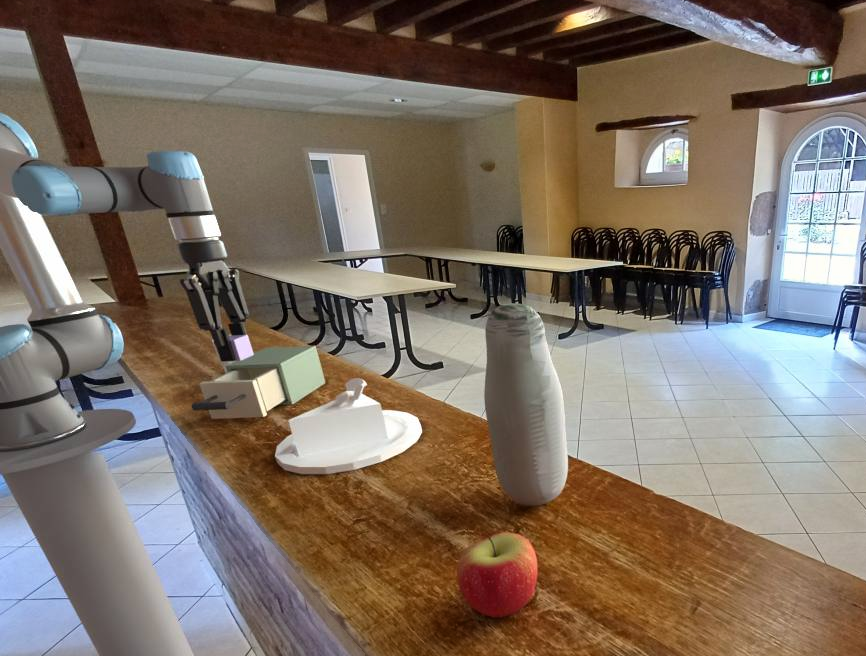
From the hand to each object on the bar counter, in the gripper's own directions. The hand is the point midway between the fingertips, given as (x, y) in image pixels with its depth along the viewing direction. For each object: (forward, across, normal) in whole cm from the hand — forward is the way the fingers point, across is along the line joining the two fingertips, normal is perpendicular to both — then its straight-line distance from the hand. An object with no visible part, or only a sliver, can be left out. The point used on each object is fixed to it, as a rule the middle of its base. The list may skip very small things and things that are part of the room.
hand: (237, 356), depth 115 cm
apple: (+13, +61, +68) cm, 92 cm away
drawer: (+12, +2, 0) cm, 12 cm away
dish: (+13, +17, +30) cm, 37 cm away
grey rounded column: (+13, +39, +68) cm, 79 cm away
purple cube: (0, 0, 0) cm, 0 cm away
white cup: (+13, -29, -23) cm, 39 cm away
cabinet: (+13, -11, 0) cm, 17 cm away
